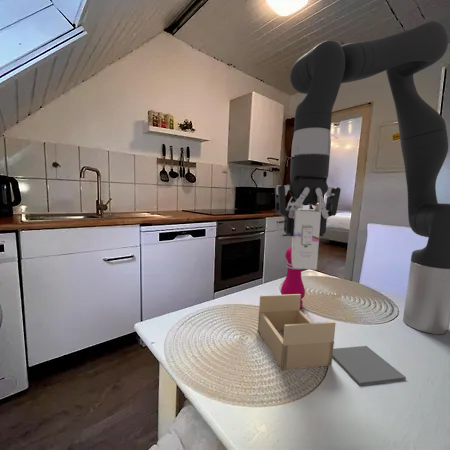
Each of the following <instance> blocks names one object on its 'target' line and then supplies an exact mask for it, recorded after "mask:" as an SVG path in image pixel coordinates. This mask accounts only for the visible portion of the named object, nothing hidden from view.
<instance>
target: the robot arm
mask: <svg viewBox="0 0 450 450" xmlns="http://www.w3.org/2000/svg"><path fill="white" fill-rule="evenodd" d="M448 45H449V38H448V34H447V30H446V28H445V26H444V25H442V23H440V22H438V21H435V20H430V21H426V22H423V23H421V24H419V25H417V26H414V27H413V28H410V29H407V30H404V31H400V32H398V33H395V34H391V35H386V36H382V37H379V38H375V39H374V38H373V39H369V40H361V41H356V42H349V43H345V44H343V45H341V44H339V42H337V41H336V40H333V39H328V40H324V41H322V42H320V43H318V44H317V45H315V47H313V48H312V49H310V50H309V51H308V52H306V53H305V54H303V55H302V56H301V57H300V58H298V59H297V60H296V61H295V63H293V65H292V68H291V70H290V74H289V80H290V83H291V86H292V88H293V89H294V90H295V91H297V92H298V93H300V94H304V95H306V96H305V97H304V98H303V99H302V100H301V101H300V102H299V103H298V105H296V108H295V114H294V128H293V136H292V137H293V138H292V144H291V154H290V155H291V156H290V171H289V178H290V179H289V183H288V184H286V185H283V184H280V185H279V184H278V185H276V186H275V187H274V196H275V197H274V200H275V202H274V203H275V213H276V214H277V215H280V216H283V218H284V220H283V221H284V225H283V232H284V233H285V234H286V236H287V237H292V236H293V235H294V219H293V217H294V215H295V210H298V209H301V206H302V205H306V206H307V205H310V206H311V207H312V208H313V209H315V210H316V207H317V206H316V204H318V201H317V198H318V196H320V197H321V220H320V234H319V237H323V236H324V234H325V233H326V232H327V223H328V218H330V217H332V216H333V217H335V216H336V214H337V211H338V206H339V202H340V201H339V200H340V196H341V189H342V188H340V186H339V187H331V186H328V185H329V184H328V183H327V180H328V177H329V173H330V172H329V170H330V160H331V158H330V157H331V156H330V155H331V147H332V146H331V145H332V140H331V137H332V136H331V128H332V118H333V117H332V116H333V108H334V106H335V103H336V100H337V98H338V94H339V90H340V88H341V85H342V84H345V83H350V82H351V83H352V82H356V81H361V80H364V79H367V78H370V77H373V76H375V75H378V74H381V73H383V72H386V76H387V80H388V81H387V82H388V84H389V88H390V91H391V95H392V99H393V103H394V107H395V113H396V118H397V124H398V133H399V141H400V148H401V153H402V159H403V165H404V171H405V172H404V173H405V174H404V175H405V180H406V181H405V182H406V188H407V192H406V193H407V215H408V216H407V218H408V224H409V227H410V229H411V230H412V232H413V233H414V234H416V235H418V236H421V237H425V238H428V239H427V242H426V243H427V244H426V246H425V247H423V248H421V249H420V248H419V249H416V250H415V249H414V250H413V251H412V252H411V257H410V264H409V265H410V266H409V271H408V272H409V273H408V281H407V288H406V295H405V301H404V302H405V303H404V310H403V317H402V321H403V322H404V323H405V324H406V326H409V327H411V328H413V329H414V330H415V329H416V331H417V330H418V331H420V332H424V333H428V334H432V335H443V334H445V333H446V332H447V331H449V330H450V203H440V202H438V198H437V189H436V184H437V179H438V176H439V174H440V172H441V169H442V167H443V166H444V163H445V160H446V158H447V155H448V152H449V138H448V131H447V125H446V121H445V118H443V117H442V115H441V114H440V113H439V112H438V111H436V109H435V108H434V107H432V106H431V105H430V104H429V103H427V102H426V101H425V100H424V99H423V98H422V97H421V95H419V93H418V90H417V88H416V84H415V80H414V75H415V74H416V73H419V72H421V71H423V70H425V69H427V68H428V67H431V66H432V65H434V64H436V63H437V62H438V61H440V59H441V58H443V56H444V55H445V53H447V49H448ZM288 192H289V194H290V195H291V197H290V199H289V201H288V202H286V196H287V194H288ZM324 196H326V202H325V199H324ZM286 203H287V205H286Z"/></svg>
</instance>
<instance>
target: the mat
mask: <svg viewBox="0 0 450 450" xmlns="http://www.w3.org/2000/svg"><path fill="white" fill-rule="evenodd" d="M332 360H334V361H335V362H336V363H337V364H338V365H339V366H340V368H342V369H343V370H344V371H345V372H346V373H347V374H348V375H349V376H350V377H351V379H353V381H354V382H355V383H356V384H357V385H358V386H365V385H366V386H367V385H373V384H383V383H389V382H390V383H391V382H399V381H400V382H401V381H406V380H407V377H406V376H405V375H404V374H403V373H401V372H400V371H399V370H398V369H397V368H395V367H394V366H392V365H391V364H390V363H389V362H388V361H386V360H385V359H384V358H382V357H381V356H380V355H379V354H377V353H376V352H375V351H373V350H372V348H370V347H369V346H367V345H362V346H361V345H360V346H351V347H349V346H348V347H338V348H337V347H336V348H333V356H332Z"/></svg>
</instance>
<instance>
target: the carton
mask: <svg viewBox="0 0 450 450" xmlns="http://www.w3.org/2000/svg"><path fill="white" fill-rule="evenodd" d="M300 300H302V299H301V294H286V295H282V294H269V295H268V294H266V295H260V296H259V309H258V319H257V320H258V321H257V331H258V332H259V334H260V336H261V337H262V339H263V341H264V342H265V344H266V346H267V347H268V350H269V351H270V353H271V354H272V356H273V358H274V359H275V361H276V363H277V364H278V365H279V367H280V369H281V370H282V371H288V370H297V369H298V370H299V369H308V368H317V367H328V366H332V365H333V358H332V356H333V349H334V345H335V334H336V333H335V332H336V321H335V320H334V321H325V322H324V321H323V322H322V321H321V322H313V321H312V320H311V319H310V318H309V317H308V316H307V315H306V314H305V313H304V312H302V310H301V309H300ZM279 331H283V337H282V335H281V334H280V333H279Z"/></svg>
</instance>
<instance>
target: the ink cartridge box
mask: <svg viewBox="0 0 450 450" xmlns="http://www.w3.org/2000/svg"><path fill="white" fill-rule="evenodd" d="M317 201H318V204H316V206H317V207H316V210H315V209H314V208H313V209H311V208H299V209H298V210H295V215H294V217H293V219H294V235H293V236H291V246H290V247H291V261H292V267H293V268H299V269H302V270H311V271H312V270H314V271H317V270H318V260H319V244H320V236H319V234H320V220H321V197H320V196H318V198H317Z"/></svg>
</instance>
